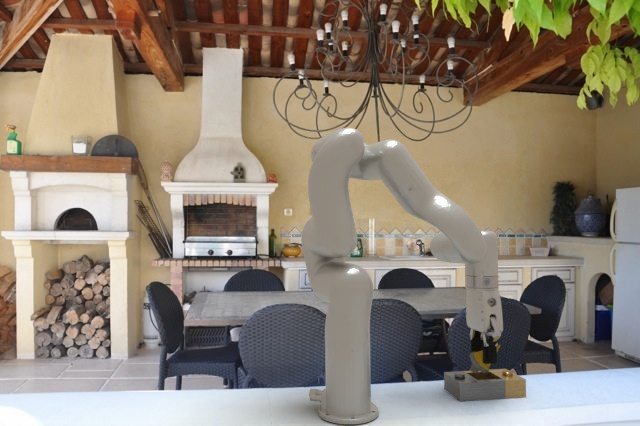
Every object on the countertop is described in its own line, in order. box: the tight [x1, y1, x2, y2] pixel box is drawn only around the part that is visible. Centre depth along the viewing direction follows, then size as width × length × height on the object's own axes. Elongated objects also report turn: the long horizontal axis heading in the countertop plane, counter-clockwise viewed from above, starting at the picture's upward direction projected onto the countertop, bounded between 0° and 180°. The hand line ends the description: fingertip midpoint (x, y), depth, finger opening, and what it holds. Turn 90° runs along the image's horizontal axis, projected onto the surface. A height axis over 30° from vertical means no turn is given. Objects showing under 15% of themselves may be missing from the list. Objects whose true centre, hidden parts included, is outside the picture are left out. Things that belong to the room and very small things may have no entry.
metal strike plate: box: [443, 368, 527, 402], centre depth 119 cm, size 16×9×5 cm, turn 99°
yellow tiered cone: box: [469, 344, 501, 374], centre depth 118 cm, size 5×5×10 cm
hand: (483, 359), depth 119 cm, fingers closed on yellow tiered cone, 5 cm apart
